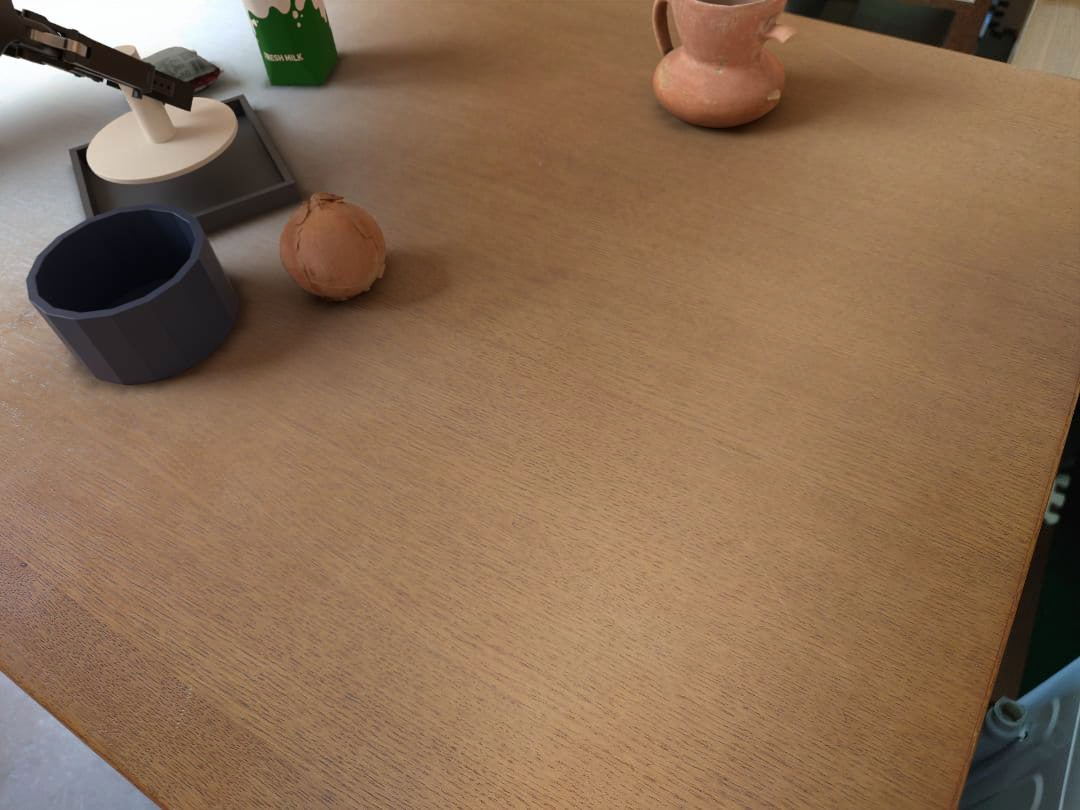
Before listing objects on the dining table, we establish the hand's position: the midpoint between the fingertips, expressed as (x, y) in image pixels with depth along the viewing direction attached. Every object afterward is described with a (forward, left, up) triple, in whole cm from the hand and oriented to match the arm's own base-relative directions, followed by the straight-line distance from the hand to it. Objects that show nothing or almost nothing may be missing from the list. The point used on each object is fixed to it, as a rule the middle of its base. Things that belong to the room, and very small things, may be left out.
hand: (177, 95), depth 82 cm
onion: (+28, +7, -9) cm, 30 cm away
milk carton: (-14, +16, -9) cm, 23 cm away
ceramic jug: (+22, +54, -9) cm, 59 cm away
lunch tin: (+24, -10, -9) cm, 28 cm away
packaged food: (-20, 0, -9) cm, 22 cm away
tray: (+2, -3, -9) cm, 10 cm away
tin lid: (+2, -3, -3) cm, 5 cm away
